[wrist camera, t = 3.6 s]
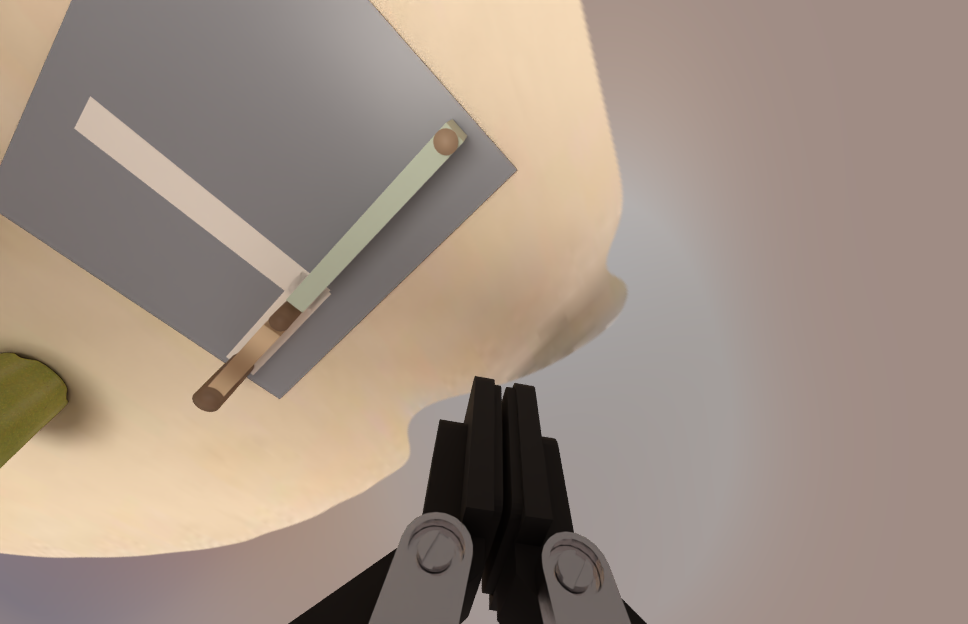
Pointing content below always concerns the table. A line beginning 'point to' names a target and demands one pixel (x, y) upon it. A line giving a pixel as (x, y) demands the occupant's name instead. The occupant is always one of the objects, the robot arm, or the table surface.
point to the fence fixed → (244, 360)
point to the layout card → (238, 163)
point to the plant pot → (26, 401)
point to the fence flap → (379, 213)
